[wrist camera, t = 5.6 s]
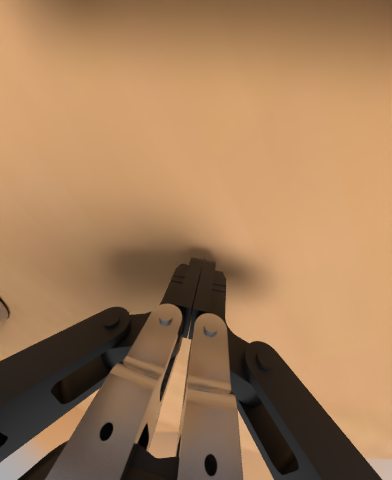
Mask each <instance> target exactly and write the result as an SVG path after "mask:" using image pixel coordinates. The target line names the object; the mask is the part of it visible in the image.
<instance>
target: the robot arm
mask: <svg viewBox="0 0 392 480" xmlns="http://www.w3.org/2000/svg"><path fill="white" fill-rule="evenodd" d="M202 264H203V267H202ZM215 264H216V262H212V261H207V260H204V263H203V260H202V259H197V258H191V261H190V264H189V265H185V264H181V265H180V266H179V267H177V268H176V270H175V272H174V274H173V277H172V279H171V282H170V283H169V286H168V288H167V290H166V293H165V295H164V297H163V299H162V302H161V304H160V305H159V306H157V307H156V308H155V309H154V310H153V311H151V312H149V313H146V314H136V315H129V312H128V311H127V310H126V309H124V308H122V307H111V308H108V309H106V310H104V311H102V312H100V313H98V314H96V315H94V316H92V317H90V318H88V319H85V320H83V321H81V322H79V323H77V324H75V325H73V326H71V327H69V328H67V329H65V330H63V331H61V332H59V333H57V334H55V335H53V336H51V337H49V338H47V339H45V340H43V341H41V342H38V343H36V344H34V345H32V346H30V347H28V348H26V349H24V350H22V351H20V352H18V353H16V354H14V355H12V356H10V357H8V358H6V359H4V360H2V361H0V462H1V461H3V460H4V459H5V458H7V457H8V456H9V455H10V454H12V453H13V452H15V451H16V450H17V449H19V448H20V447H21V446H23V445H24V444H25V443H27V442H28V441H29V440H31V439H32V438H33V437H35V436H36V435H37V434H39V433H40V432H41V431H43V430H44V429H45V428H47V427H48V426H50V425H51V424H52V423H53V422H55V421H56V420H58V419H59V418H60V417H62V416H63V415H64V414H66V413H67V412H68V411H70V410H71V409H72V408H74V407H75V406H76V405H78V404H79V403H80V402H82V401H83V400H84V399H86V398H87V397H88V396H90V395H91V394H92V393H94V392H95V391H96V390H98V389H99V388H100V387H101V388H100V389H99V391H98V393H97V394H96V396H95V398H94V399H93V401H92V402H91V404H90V406H89V407H88V409H87V411H86V412H85V414H84V416H83V418H82V419H81V421H80V423H79V424H78V426H77V427H76V429H75V431H74V433H73V434H72V436H71V438H70V439H69V440H68V441H66V442H65V443H63V444H61V445H59V446H58V447H57V448H55V449H54V450H52V451H51V452H50V453H48V454H47V455H46V456H45V457H44V458H42V459H41V460H40V461H39V462H38V463H37V464H35V465H34V466H33V467H32V468H31V469H30V470H28V471H27V472H26V473H25V474H24V475H23V476H21V477H20V478H19V479H18V480H243V471H242V459H241V447H240V435H239V423H238V411H239V413H240V415H241V417H242V419H243V420H244V422H245V424H246V426H247V428H248V430H249V432H250V434H251V436H252V438H253V440H254V442H255V444H256V446H257V447H258V449H259V451H260V453H261V455H262V457H263V459H264V461H265V463H266V465H267V467H268V468H269V470H270V472H271V474H272V476H273V478H274V480H382V479H381V478H380V476H379V475H378V474H377V473H376V472H375V470H374V469H373V468H372V467H371V466H370V464H369V463H368V462H367V461H366V459H365V458H364V457H363V456H362V455H361V453H360V452H359V451H358V450H357V449H356V447H355V446H354V445H353V444H352V443H351V441H350V440H349V439H348V438H347V437H346V435H345V434H344V433H343V432H342V430H341V429H340V428H339V427H338V426H337V424H336V423H335V422H334V421H333V420H332V418H331V417H330V416H329V415H328V414H327V412H326V411H325V410H324V409H323V407H322V406H321V405H320V404H319V403H318V401H317V400H316V399H315V398H314V397H313V395H312V394H311V393H310V392H309V391H308V389H307V388H306V387H305V386H304V385H303V383H302V382H301V381H300V380H299V378H298V377H297V376H296V375H295V374H294V372H293V371H292V370H291V369H290V368H289V366H288V365H287V364H286V363H285V362H284V360H283V359H282V358H281V357H280V356H279V354H278V353H277V352H276V351H275V350H274V349H273V348H272V347H271V346H269V345H268V344H266V343H264V342H260V341H254V342H251V343H250V344H249V343H248V342H246V341H244V340H242V339H241V338H239V337H237V336H236V335H235V334H234V333H232V331H231V330H230V329H229V328H228V326H227V324H226V320H225V301H226V278H225V276H224V274H223V272H219V271H215ZM201 270H202V271H201ZM7 318H8V312H7V310H6V308H5V306H4V305H3V304H2V302H1V301H0V324H1V323H2V322H3V321H5V320H6V319H7ZM190 322H191V325H190ZM189 327H190V331H189ZM188 331H189V337H188V339H192V341H191V346H190V352H189V357H188V365H187V373H186V381H185V389H184V397H183V404H182V412H181V419H180V426H179V433H178V441H177V449H176V456H175V457H169V458H161V459H159V458H155V457H154V456H152V455H151V454H150V453H149V452H148V450H149V447H150V444H151V441H152V438H153V435H154V431H155V428H156V425H157V421H158V418H159V414H160V409H161V406H162V402H163V399H164V396H165V393H166V390H167V386H168V383H169V380H170V377H171V374H172V371H173V368H174V365H175V362H176V359H177V356H178V352H179V350H180V346H181V342H182V338H183V337H184V338H187V336H188ZM237 409H238V411H237Z"/></svg>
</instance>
